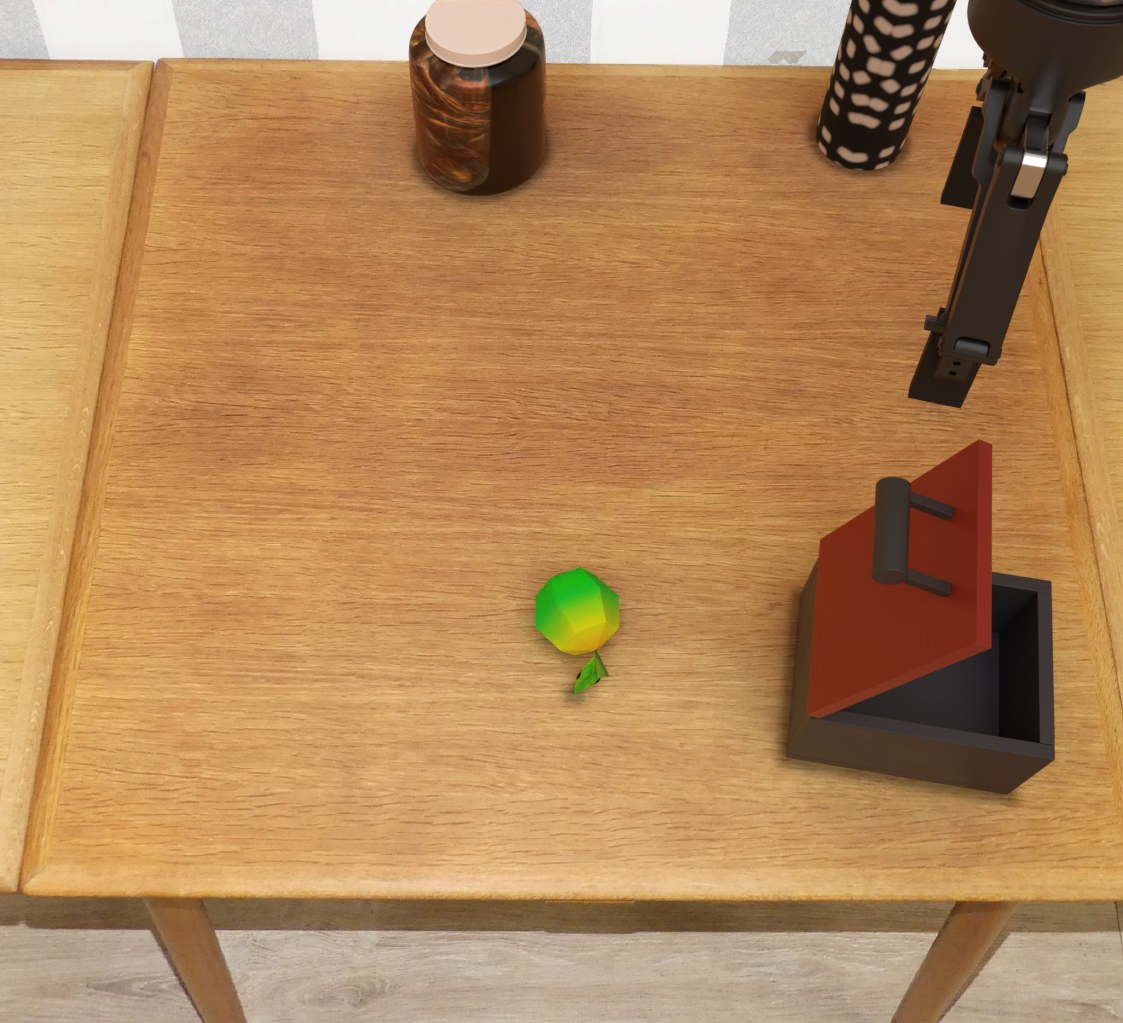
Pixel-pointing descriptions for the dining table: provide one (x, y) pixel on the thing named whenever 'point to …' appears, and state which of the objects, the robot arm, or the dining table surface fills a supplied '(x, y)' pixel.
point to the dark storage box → (946, 704)
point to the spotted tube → (879, 79)
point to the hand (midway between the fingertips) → (950, 296)
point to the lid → (905, 584)
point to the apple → (578, 618)
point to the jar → (479, 94)
